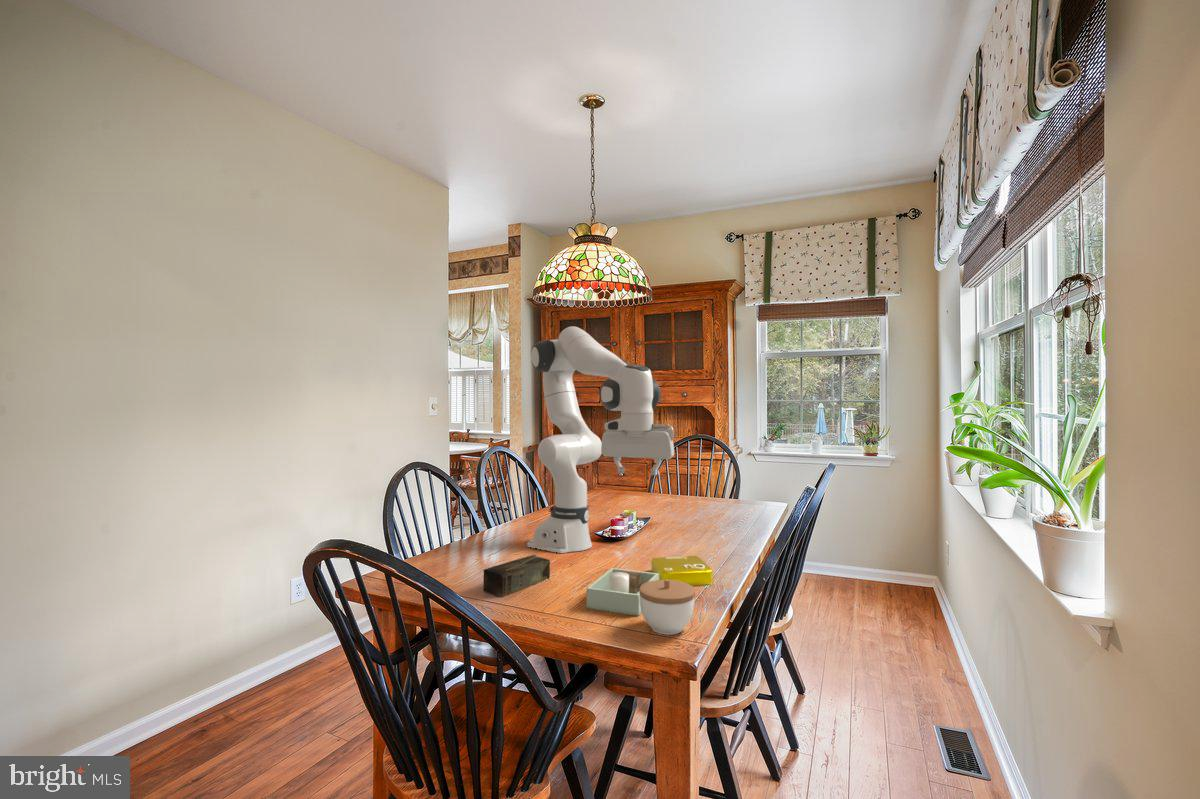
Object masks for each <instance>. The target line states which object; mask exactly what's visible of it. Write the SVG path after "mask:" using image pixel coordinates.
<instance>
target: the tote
mask: <svg viewBox="0 0 1200 799" xmlns="http://www.w3.org/2000/svg"><path fill="white" fill-rule="evenodd" d="M623 570H625V571H633V572H641V585H642V584H644V583H646V582H650V581H655V580H659V574H658V573H652V572H650V571H641V570H640V571H639V570H634V569H633V570H632V569H626V568H625V569H624V568H616V567H611V568H610V569H608V570H607V571H606V572H605V573H604V574H602V575H601V576H599V578H597V579H596V580H595V581H594V582H593V583H591V584H590V585H589V586H587V587H586V609H588V608H589V610H595V609H596V611H603V612H608V611H609V613H615V614H616V613H617V614H622V615H629V616H635V617H639V616H640V615H642V611H641V605H640V593H639V592H638V593H637V594H633V593H626V592H618V591H611V590H609V574H610V573H614V572H622V571H623Z"/></svg>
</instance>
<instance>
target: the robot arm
mask: <svg viewBox="0 0 1200 799" xmlns="http://www.w3.org/2000/svg"><path fill="white" fill-rule="evenodd" d="M530 360H531V361H530V362H531V364H532V366H533V368H534V369H535V370H536V371H537V372H541V373H542V386H543V390H542V391H543V395H544V401H545V408H546V411H547V416H548V420H549V421H550V423H552V424H553V425H555V426H556V427H558V429H559V430H560V432H561V434H553V435H550V436H548V437H545V438H543V439H542V440H541V441H540V442H539V443H538V447H537V456H538V460H539V461H540V463H541V464H542V465H543V466H545V467H546V468H547V469H548V471H549V473H550V475H551V477H552V481H553V484H554V499H555V500H554V502H555V503H554V505H553V506H551V507H549V508H548V512H549V513H550V516H548V517H547V518H546V519H545V520H544V521H542V522H541V523H539V524H538V525H537V526H536V528H535V530H534V534H533V538H531V539H530V540H529V541H528V542H527V543H526V547H527V548H530V547H531V549H535V548H537V549H536V550H540V549H541V550H540V551H545V550H546V551H547V552H552V553H556V552H557V554H565V553H571V552H580V551H585V550H589V549H591V548H592V547H593V543H592V540H591V534H590V530H589V517H590V515H589V514H590V512H589V505H588V484H587V481H586V479H584V478H582V477H581V476H579V474H578V472H577V466H578V465H579V466H580V465H585V464H586V465H588V464H590V463H592V462H595V461H597V460H598V459H600V457H601V456H604V457H607V458H609V457H610V458H613V461H614V464H615V466H616V468H617V474H625V472H626V470H625V469H626V467H625V466H623V465H622V464H621V461H622V458H630V459H632V458H636V459H653V460H654V463H655V464H654V467H651V468H650V475H651V476H657V475H658V468H659V467H660V465H661V463H662V460H670V459H672V458H673V457H674V455H675V446H674V445H675V444H674V438H675V430H674V428H673V427H672V426H670V425H669V424H657V423H654V409H656V407H657V406H658V404H659V403H660V401H661V397H662V390H661V387H660V385H659V383H658V382H657V381H656V379H654V377H653V375H652V370H651V369H650V368H649V367H647V366H645V365H642V364H641V365H640V364H630V363H628V362H627V361H626V360H624V359H623V358H622V357H620V356H618V355H616V354H615V353H613V352H612V351H610V350H608V349H607V348H606V347H604V346H603V345H601V343H599V342H598V341H597V340H596V339H594V338H593V336H591V335H590V334H589V333H588V332H587V331H585V330H584V329H582V328H580V327H578V326H571V325H570V326H568V327H566V328H564V329H563V330H562V331H561V332H560V333H559V334H558V338H556V339H545V340H540V341H538V342H535V343H534V345H533V346H532V347H531V350H530ZM575 372H576V373H577V374H583V375H586V376H587V375H588V376H598V377H606V378H607V379H605V380H604V381H603V383H602V384H601V386H600V389H599V400H600V402H601V404H602V406H603V407H604V408H605V410H607V411H612V412H613V411H614V412H620V413H621V414H620V418H615V419H614V420H610V421H607V422H605V423H604V426H603V427H604V430H605V431H604V432H603V434H602V438H601V439H600V437H599V436H598V435H597V434H595V433H594V432H593V431H591V429H590V428H589V426H588V425H587V423H586V422H585V420H584V418H583V416H582V413H581V410H580V407H579V402H578V398H577V393H576V388H575V384H574V381H573V376H574V373H575Z"/></svg>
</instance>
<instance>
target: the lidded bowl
mask: <svg viewBox="0 0 1200 799" xmlns="http://www.w3.org/2000/svg"><path fill="white" fill-rule="evenodd" d="M695 590H696V589H695V587H694V586H691V585H689V584H687V583H684V582H680V581H675V580H668V579H666V580H655V581H650V582H646V583H644V584H642V585H641V586H640V588H639V593H640V605H641V611H642V613H641V615H642V617H643V620H645V623H646V624H647V625H648V626H649V627H651V628H650V629H651V630H652V631H653V632H654V633H655V634H656V633H657V634H660V635H665V636H666V635H667V636H671V635H677V634H679V633H681V632H683V630H684V629H685V628H686V627H687V626H688V625H689V623H690V621H691V619H692V617H693V614H694V610H695V596H696V591H695Z"/></svg>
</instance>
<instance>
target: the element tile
mask: <svg viewBox="0 0 1200 799" xmlns="http://www.w3.org/2000/svg"><path fill="white" fill-rule="evenodd" d="M650 561H651V566H650V567H651V570H650V571H651V573H658V574H659V580H666V579H668V580H675V581H680V582H684V583H687V584H689V585H697V586H707V585H706V584H710V585H712V584H713V568H711V566H710V565H709V564H707V563H706V562H705V560H703V559H702V558H701V557H700V556H698V555H691V556H690V555H689V556H687V555H686V556H666V557H665V556H664V557H653V558H651V560H650Z"/></svg>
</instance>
